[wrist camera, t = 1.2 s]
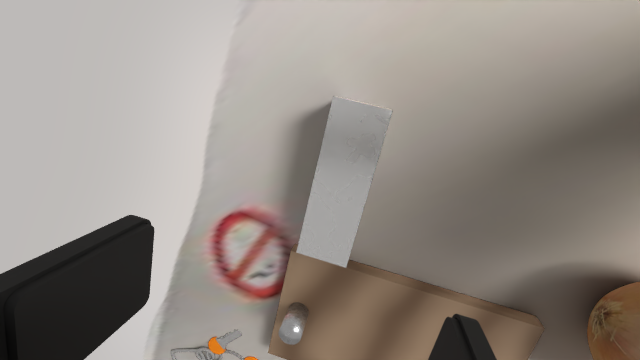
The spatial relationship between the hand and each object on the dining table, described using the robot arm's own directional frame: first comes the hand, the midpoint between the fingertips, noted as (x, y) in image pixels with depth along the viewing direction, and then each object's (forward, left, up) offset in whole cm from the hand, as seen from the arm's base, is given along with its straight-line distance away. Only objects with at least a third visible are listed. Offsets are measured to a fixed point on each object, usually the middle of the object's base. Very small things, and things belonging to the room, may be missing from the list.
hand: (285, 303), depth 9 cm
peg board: (-8, +14, -18) cm, 24 cm away
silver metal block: (0, 0, -18) cm, 18 cm away
